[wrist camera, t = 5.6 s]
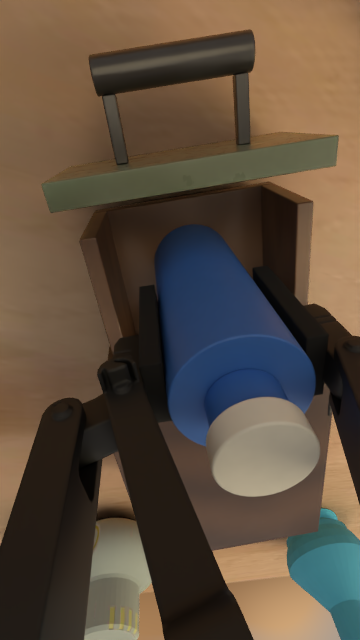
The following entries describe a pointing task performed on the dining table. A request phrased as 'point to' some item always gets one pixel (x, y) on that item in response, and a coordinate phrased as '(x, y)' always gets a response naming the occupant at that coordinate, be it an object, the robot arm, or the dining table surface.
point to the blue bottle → (232, 367)
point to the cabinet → (242, 511)
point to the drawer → (188, 181)
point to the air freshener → (116, 581)
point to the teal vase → (330, 571)
